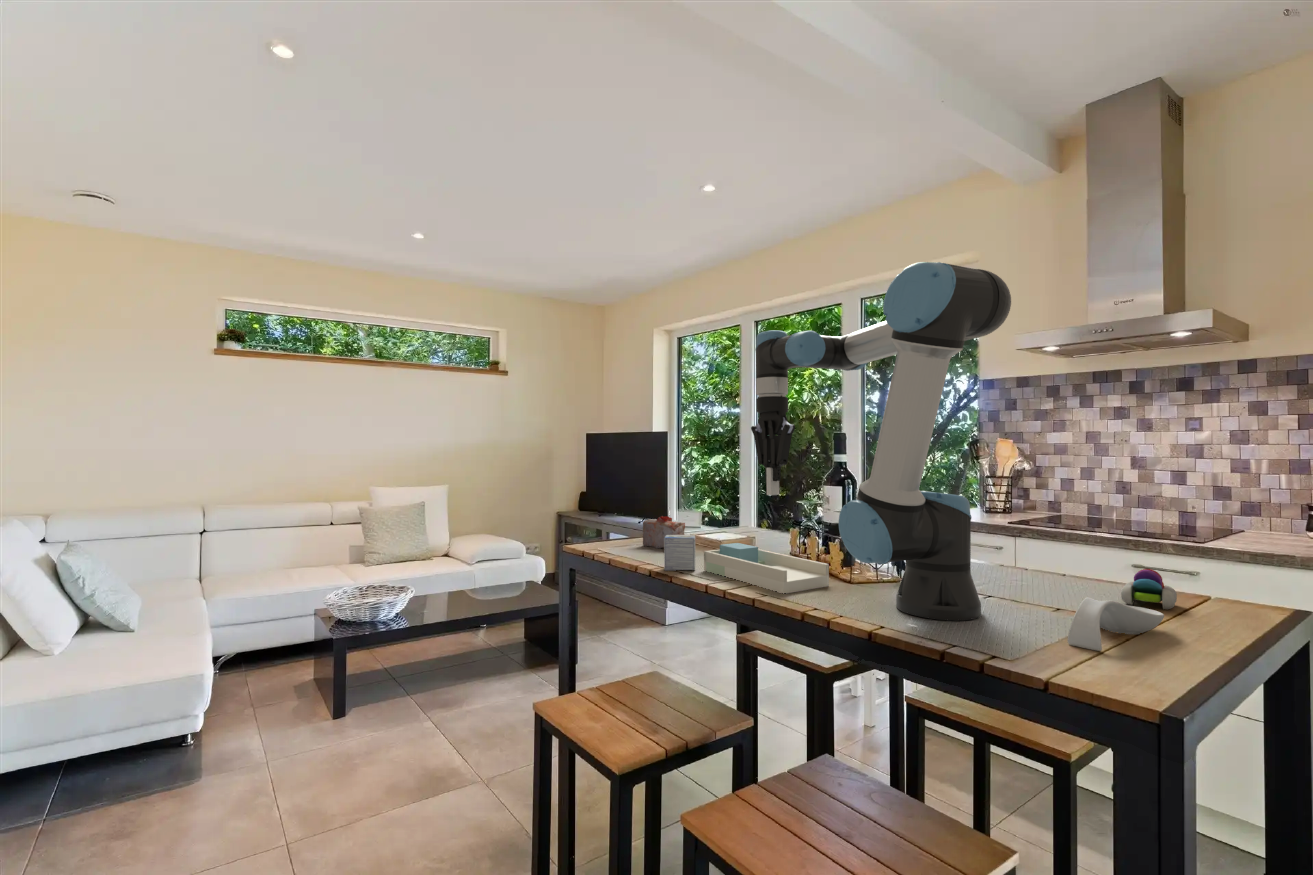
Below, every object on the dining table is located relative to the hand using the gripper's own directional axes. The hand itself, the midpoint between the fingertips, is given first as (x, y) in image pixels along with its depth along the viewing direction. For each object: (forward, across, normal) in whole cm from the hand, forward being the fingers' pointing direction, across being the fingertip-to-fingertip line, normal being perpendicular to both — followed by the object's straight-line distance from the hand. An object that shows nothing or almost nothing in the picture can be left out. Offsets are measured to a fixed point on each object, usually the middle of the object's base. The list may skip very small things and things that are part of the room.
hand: (772, 494), depth 151 cm
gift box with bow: (+20, +54, -4) cm, 58 cm away
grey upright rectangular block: (+20, +22, +12) cm, 32 cm away
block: (+18, +12, +1) cm, 21 cm away
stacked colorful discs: (+21, -58, -48) cm, 78 cm away
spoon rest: (+21, -63, -18) cm, 69 cm away
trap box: (+20, +3, +1) cm, 21 cm away
